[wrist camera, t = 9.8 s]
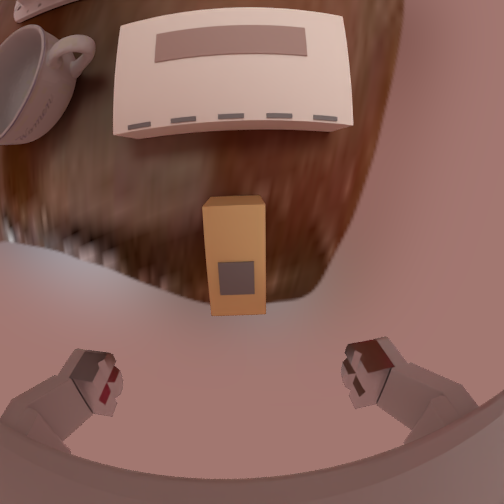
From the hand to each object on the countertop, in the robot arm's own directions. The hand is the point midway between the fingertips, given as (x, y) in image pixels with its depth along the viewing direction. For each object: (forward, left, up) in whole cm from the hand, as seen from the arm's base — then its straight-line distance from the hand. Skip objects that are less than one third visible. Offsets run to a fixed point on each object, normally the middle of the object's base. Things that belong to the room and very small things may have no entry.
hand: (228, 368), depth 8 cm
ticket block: (0, +14, -16) cm, 21 cm away
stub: (0, 0, -16) cm, 15 cm away
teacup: (-17, +16, -16) cm, 28 cm away
